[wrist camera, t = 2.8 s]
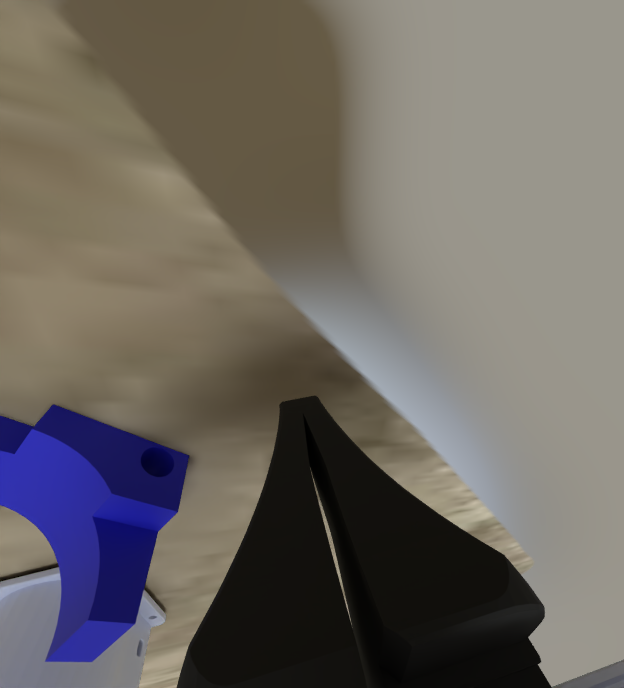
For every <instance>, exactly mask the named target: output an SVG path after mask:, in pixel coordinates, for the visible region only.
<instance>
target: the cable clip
mask: <svg viewBox="0 0 624 688" xmlns="http://www.w3.org/2000/svg"><path fill="white" fill-rule="evenodd" d="M188 459H189V455H186V454H183V453H181V452H178V451H175V450H173V449H170V448H167V447H165V446H162V445H160V444H157V443H154V442H152V441H149V440H146V439H144V438H141V437H138V436H136V435H133V434H130V433H128V432H125V431H122V430H120V429H117V428H115V427H112V426H109V425H107V424H104V423H101V422H99V421H96V420H93V419H91V418H88V417H85V416H83V415H80V414H77V413H75V412H72V411H70V410H67V409H64V408H62V407H59V406H56V405H54V404H53V405H52V406H51V407H50V409H49V410H48V411H47V412H46V413H45V414H44V416H43V417H42V418H41V419H40V420H39V421H38V423H37V424H36V425H35V426H34V427H33V426H30V425H27V424H24V423H21V422H18V421H15V420H12V419H9V418H6V417H3V416H0V505H2V506H5V507H7V508H9V509H11V510H14V511H16V512H17V513H19V514H21V515H22V516H24V517H26V518H27V519H28V520H29V521H31V522H32V523H33V524H34V525H36V526H37V527H38V529H39V530H40V531H41V532H42V533H43V534H44V535H45V537H46V538H47V540H48V541H49V543H50V545H51V547H52V549H53V551H54V553H55V556H56V559H57V562H58V565H59V571H60V577H61V602H60V611H59V616H58V622H57V626H56V630H55V633H54V637H53V640H52V643H51V646H50V649H49V651H48V654H47V657H46V660H45V662H93V661H94V660H95V659H96V658H97V657H98V656H100V655H101V654H102V653H103V652H104V651H105V650H106V649H107V648H109V647H110V646H111V645H112V644H113V643H114V642H115V641H116V640H118V639H119V638H120V637H121V636H122V635H123V634H124V633H126V632H127V631H128V630H129V629H130V628H131V627H132V626H133V625H135V623H136V619H137V615H138V611H139V607H140V603H141V599H142V595H143V591H144V587H145V583H146V579H147V575H148V571H149V567H150V563H151V558H152V554H153V550H154V546H155V542H156V538H157V534H158V531H159V530H160V529H161V528H162V527H163V526H164V525H165V524H166V523H167V522H168V521H169V520H170V519H171V518H172V517H173V516H174V515H175V514H176V513H177V512H178V509H179V504H180V499H181V494H182V489H183V484H184V479H185V474H186V469H187V464H188Z"/></svg>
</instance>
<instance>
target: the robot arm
mask: <svg viewBox="0 0 624 688" xmlns="http://www.w3.org/2000/svg"><path fill="white" fill-rule="evenodd" d="M279 407H280V416H279V425H278V432H277V437H276V442H275V447H274V452H273V456H272V459H271V463H270V467H269V470H268V474H267V477H266V480H265V484H264V487H263V490H262V493H261V495H260V498H259V501H258V504H257V506H256V509H255V512H254V514H253V517H252V519H251V522H250V524H249V526H248V529H247V531H246V534H245V536H244V538H243V541H242V543H241V545H240V547H239V549H238V552H237V554H236V556H235V558H234V560H233V562H232V564H231V566H230V568H229V570H228V573H227V575H226V577H225V579H224V581H223V583H222V585H221V587H220V589H219V591H218V593H217V595H216V597H215V598H214V600H213V602H212V604H211V606H210V608H209V610H208V611H207V613H206V615H205V617H204V619H203V621H202V622H201V624H200V626H199V628H198V630H197V632H196V634H195V635H194V637H193V639H192V641H191V643H190V645H189V647H188V650H187V653H186V656H185V660H184V663H183V667H182V670H181V673H180V677H179V681H178V685H177V688H624V660H622V661H619V662H616V663H614V664H611V665H609V666H606V667H603V668H601V669H598V670H595V671H593V672H590V673H587V674H585V675H582V676H580V677H577V678H575V679H572V680H569V681H567V682H564V683H561V684H559V685H556V686H553V687H551V686H550V684H549V682H548V681H547V679H546V677H545V676H544V674H543V672H542V671H541V669H540V668H539V666H538V664H539V663H540V662H541V659H540V656H539V655H538V653H537V651H536V650H535V648H534V646H533V645H532V643H531V642H530V640H529V638H528V637H529V636H530V634H531V633H532V632H533V631H534V630H535V629H536V628H537V627H538V625H539V624H540V623H541V622H542V620H543V619H544V617H545V610H544V606H543V604H542V603H541V601H540V600H539V599H538V597H537V596H536V594H535V593H534V591H533V590H532V589H531V587H530V586H529V584H528V583H527V582H526V581H525V579H524V578H523V577H522V576H521V574H520V573H519V572H518V571H517V570H516V568H515V567H514V566H513V565H512V564H511V562H510V561H509V560H508V559H507V558H506V557H505V555H503V554H502V553H500V552H498V551H497V550H495V549H493V548H492V547H490V546H488V545H487V544H485V543H483V542H482V541H480V540H478V539H477V538H475V537H473V536H472V535H470V534H469V533H467V532H466V531H464V530H462V529H461V528H459V527H458V526H456V525H455V524H453V523H452V522H450V521H449V520H447V519H446V518H444V517H443V516H441V515H440V514H438V513H437V512H435V511H434V510H433V509H431V508H430V507H429V506H427V505H426V504H424V503H423V502H422V501H420V500H419V499H418V498H416V497H415V496H414V495H412V494H411V493H410V492H408V491H407V490H406V489H404V488H403V487H402V486H401V485H399V484H398V483H397V482H396V481H394V480H393V479H392V478H391V477H390V476H388V475H387V474H386V473H385V472H384V471H383V470H382V469H380V468H379V467H378V466H377V465H376V464H375V463H374V462H373V461H372V460H371V459H370V458H369V457H368V456H366V455H365V454H364V453H363V452H362V451H361V449H360V448H359V447H358V446H357V445H356V444H355V443H354V442H353V441H352V440H351V439H350V438H349V437H348V436H347V435H346V433H345V432H344V431H343V430H342V429H341V428H340V427H339V425H338V424H337V423H336V422H335V421H334V419H333V418H332V417H331V415H330V414H329V413H328V411H327V410H326V409H325V407H324V406H323V404H322V403H321V401H320V400H319V398H318V397H317V396H310V397H305V398H300V399H295V400H290V401H285V402H282V403H281V404H280V405H279ZM310 468H311V470H310ZM311 472H312V475H313V478H314V481H315V484H316V487H317V490H318V494H319V497H320V500H321V503H322V506H323V509H324V512H325V516H326V519H327V522H328V525H329V529H330V532H331V536H332V539H333V544H334V548H335V552H336V557H337V561H338V565H339V570H340V574H341V578H342V583H343V587H344V592H345V596H346V601H347V605H348V609H349V614H350V618H351V621H350V618H349V614H348V611H347V607H346V604H345V600H344V596H343V593H342V589H341V585H340V582H339V578H338V574H337V571H336V567H335V563H334V560H333V556H332V552H331V548H330V545H329V541H328V537H327V533H326V530H325V526H324V522H323V518H322V514H321V510H320V506H319V502H318V499H317V495H316V491H315V487H314V483H313V479H312V475H311ZM60 602H61V577H60V571H59V567H57V568H53V569H49V570H45V571H41V572H37V573H33V574H29V575H25V576H21V577H17V578H13V579H9V580H5V581H1V582H0V688H139V684H140V679H141V674H142V669H143V664H144V660H145V655H146V650H147V645H148V640H149V635H150V631H151V627H155V626H158V625H161V624H163V623H164V622H165V620H166V614H165V613H164V612H163V610H162V609H161V608H160V607H159V606H158V605H157V604H156V602H155V601H154V600H153V599H152V598H151V597H150V596H149V594H148V593H147V592H146V591H145V590H144V591H143V595H142V599H141V603H140V607H139V611H138V615H137V619H136V623H135V625H133V626H132V627H131V628H130V629H129V630H128V631H127V632H126V633H124V634H123V635H122V636H121V637H120V638H119V639H118V640H116V641H115V642H114V643H113V644H112V645H111V646H110V647H109V648H107V649H106V650H105V651H104V652H103V653H102V654H101V655H100V656H98V657H97V658H96V659H95V660H94V661H93V662H45V660H46V657H47V654H48V651H49V649H50V646H51V643H52V640H53V637H54V633H55V630H56V626H57V622H58V616H59V611H60ZM351 623H352V625H351ZM352 627H353V629H352Z"/></svg>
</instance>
